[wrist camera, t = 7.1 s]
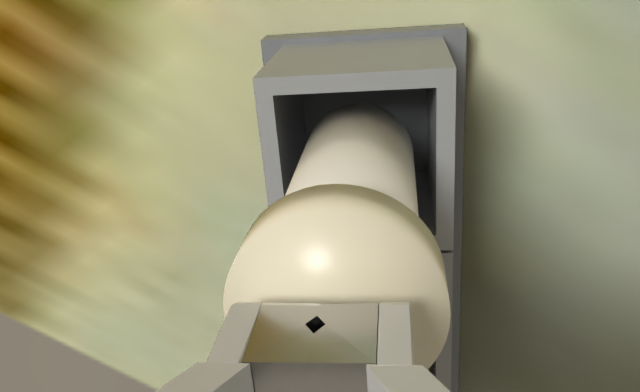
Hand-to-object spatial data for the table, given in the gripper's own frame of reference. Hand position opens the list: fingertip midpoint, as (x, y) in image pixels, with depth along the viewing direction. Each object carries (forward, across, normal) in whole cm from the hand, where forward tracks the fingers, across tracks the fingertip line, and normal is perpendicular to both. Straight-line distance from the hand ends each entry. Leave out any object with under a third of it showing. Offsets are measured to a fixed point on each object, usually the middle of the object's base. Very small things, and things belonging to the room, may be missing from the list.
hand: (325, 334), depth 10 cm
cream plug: (+8, 0, 0) cm, 8 cm away
